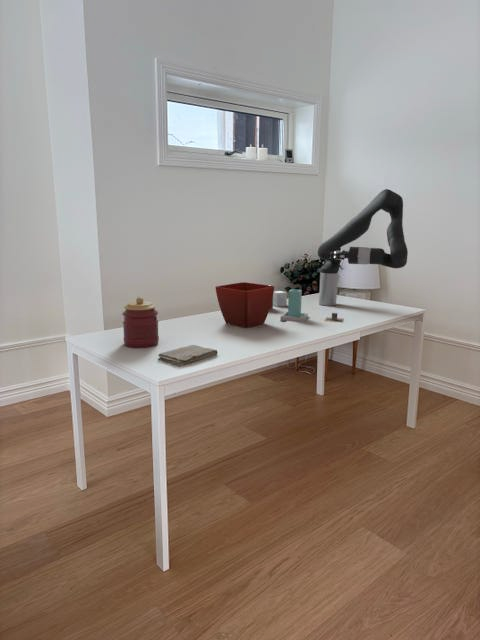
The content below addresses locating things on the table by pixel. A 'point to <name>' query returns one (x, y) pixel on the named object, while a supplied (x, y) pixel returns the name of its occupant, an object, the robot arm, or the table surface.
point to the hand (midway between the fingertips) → (322, 254)
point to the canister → (140, 324)
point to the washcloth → (187, 355)
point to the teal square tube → (294, 303)
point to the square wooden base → (334, 318)
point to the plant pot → (244, 303)
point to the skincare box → (279, 298)
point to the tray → (286, 317)
